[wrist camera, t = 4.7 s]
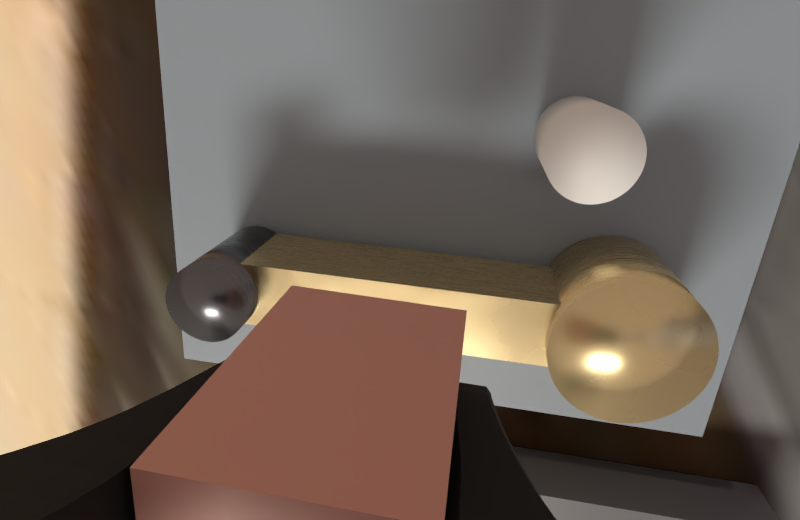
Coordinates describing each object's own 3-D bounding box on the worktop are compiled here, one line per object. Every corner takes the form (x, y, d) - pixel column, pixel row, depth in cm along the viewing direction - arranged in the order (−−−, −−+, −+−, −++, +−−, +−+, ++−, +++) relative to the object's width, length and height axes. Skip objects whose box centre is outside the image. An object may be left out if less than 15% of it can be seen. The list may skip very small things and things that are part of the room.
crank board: (874, -151, 14) (1049, -244, 10) (693, 419, 21) (747, 519, 16) (159, -171, 17) (39, -254, 12) (196, 346, 23) (126, 414, 19)
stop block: (466, 310, 12) (444, 527, 6) (446, 456, 13) (413, 738, 8) (291, 285, 12) (129, 467, 7) (290, 428, 14) (154, 675, 8)
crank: (689, 243, 17) (749, 300, 13) (656, 363, 19) (700, 446, 15) (228, 192, 19) (159, 228, 15) (233, 305, 21) (171, 364, 17)
